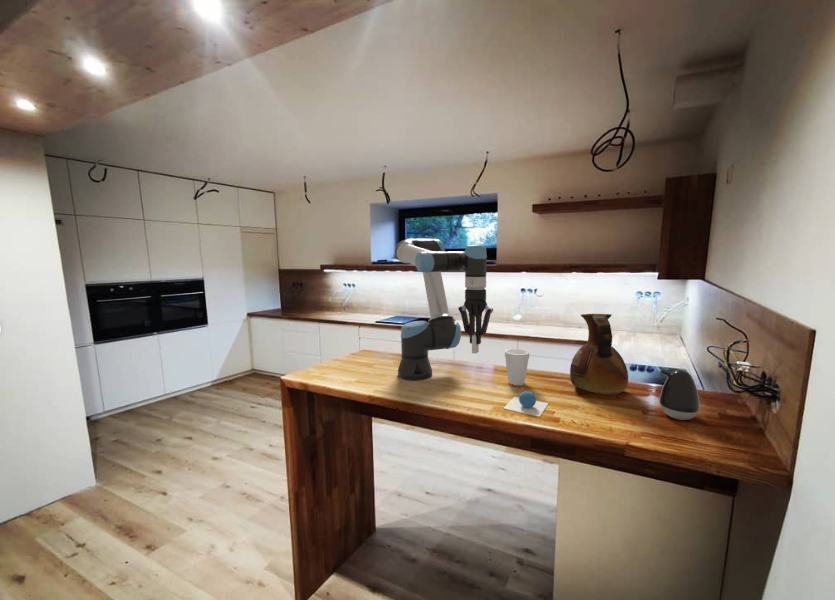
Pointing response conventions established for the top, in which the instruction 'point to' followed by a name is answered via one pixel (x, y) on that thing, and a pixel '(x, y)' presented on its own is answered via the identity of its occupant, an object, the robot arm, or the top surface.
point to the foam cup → (516, 365)
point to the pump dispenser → (679, 395)
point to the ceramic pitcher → (599, 360)
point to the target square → (517, 407)
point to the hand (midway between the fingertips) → (475, 352)
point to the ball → (527, 399)
